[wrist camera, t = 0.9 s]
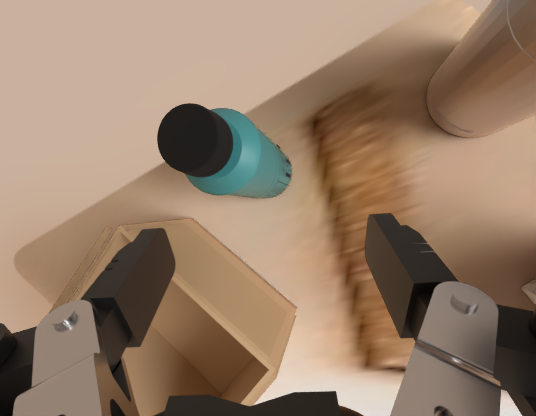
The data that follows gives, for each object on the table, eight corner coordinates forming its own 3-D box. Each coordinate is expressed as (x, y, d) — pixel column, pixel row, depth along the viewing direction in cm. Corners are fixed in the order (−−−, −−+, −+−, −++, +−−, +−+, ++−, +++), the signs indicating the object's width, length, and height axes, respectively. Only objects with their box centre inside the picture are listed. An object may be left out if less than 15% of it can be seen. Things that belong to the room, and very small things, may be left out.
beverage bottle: (303, 186, 33) (263, 160, 14) (256, 208, 35) (160, 214, 15) (281, 139, 34) (213, 51, 14) (236, 163, 35) (117, 113, 16)
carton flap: (112, 228, 24) (106, 226, 24) (10, 395, 10) (-5, 393, 10) (34, 349, 26) (28, 347, 26) (-132, 613, 13) (-147, 615, 13)
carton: (193, 215, 37) (121, 221, 24) (301, 307, 33) (283, 369, 21) (130, 306, 39) (34, 354, 27) (224, 399, 36) (166, 505, 23)
